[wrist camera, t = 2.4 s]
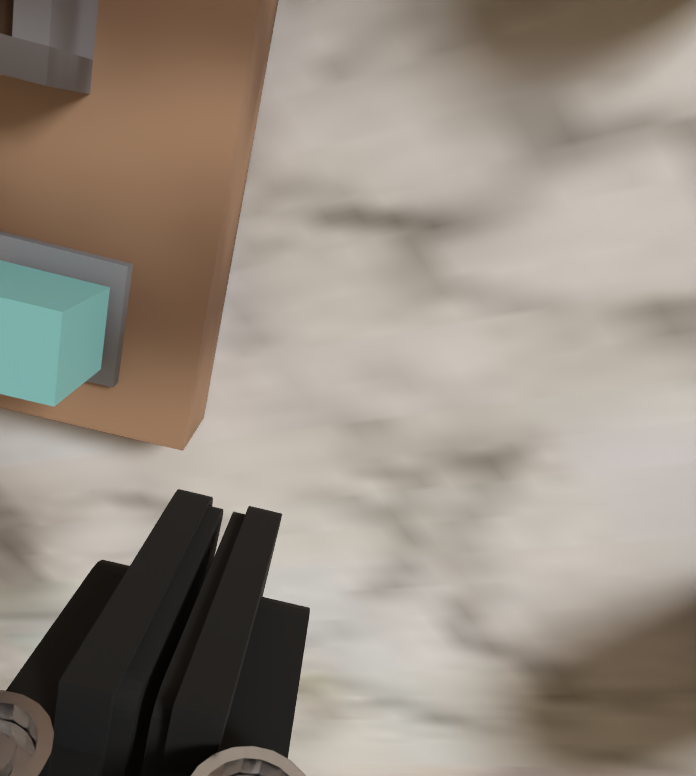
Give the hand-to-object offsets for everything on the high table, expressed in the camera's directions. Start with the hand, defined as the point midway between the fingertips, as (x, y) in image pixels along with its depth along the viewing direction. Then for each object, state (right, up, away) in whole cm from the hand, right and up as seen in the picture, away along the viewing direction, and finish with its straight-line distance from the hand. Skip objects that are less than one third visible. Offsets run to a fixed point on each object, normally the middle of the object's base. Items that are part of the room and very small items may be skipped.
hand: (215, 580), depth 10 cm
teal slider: (-6, +5, +7) cm, 11 cm away
